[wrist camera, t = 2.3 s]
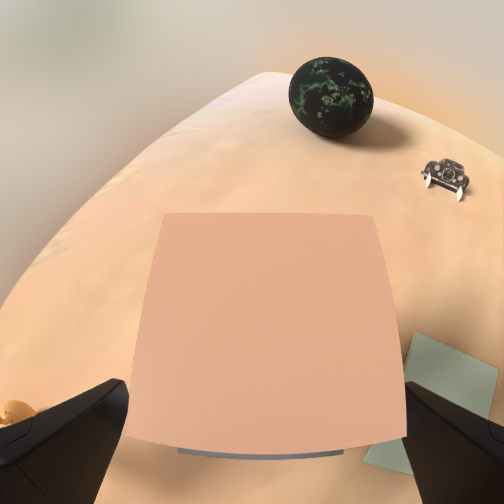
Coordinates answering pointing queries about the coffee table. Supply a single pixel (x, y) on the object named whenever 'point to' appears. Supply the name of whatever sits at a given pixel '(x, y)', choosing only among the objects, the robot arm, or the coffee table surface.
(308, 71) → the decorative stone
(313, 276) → the plug
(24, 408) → the figurine
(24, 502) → the robot arm
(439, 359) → the pad
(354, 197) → the coffee table surface
